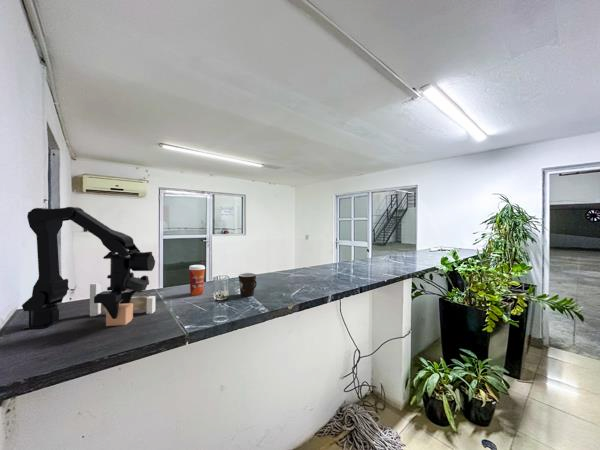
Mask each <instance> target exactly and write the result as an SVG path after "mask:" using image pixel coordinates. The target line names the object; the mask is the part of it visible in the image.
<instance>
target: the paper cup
mask: <svg viewBox="0 0 600 450" xmlns="http://www.w3.org/2000/svg"><path fill="white" fill-rule="evenodd" d="M205 270H206V266H205V265H204V264H193V265H192V264H191V265H189V268H188V272H189V291H190V292H189V293H190V296H200V295H203V293H204V284H205V283H204V281H205V280H204V279H205Z"/></svg>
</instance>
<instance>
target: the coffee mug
mask: <svg viewBox="0 0 600 450" xmlns="http://www.w3.org/2000/svg"><path fill="white" fill-rule="evenodd" d="M256 280H257V274H256V273H253V272H244V273H239V274H238V282H239V283H238V284H239V293H240V294H239V295H240V297H245V298H249V297H253V296H254V293H255V289H256V288H257V281H256Z"/></svg>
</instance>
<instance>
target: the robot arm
mask: <svg viewBox="0 0 600 450" xmlns="http://www.w3.org/2000/svg"><path fill="white" fill-rule="evenodd" d="M26 217H27V221H28V226H29V228H30V230H32V231H33V233H34V234H35V236H36V249H37V252H36V253H37V267H38V269H37V270H38V279H37V280H36V282H35V283H34V285H33V287H32V292H31V296H30V298H28V299H27V300H26V301H24V303H22V305H21V307H22V310H23V312H28V325H26V326H24V327H23V329H24V330H28V329H30V330H31V329H47V328H49V327H51V326H53V325H55V324H57V323H59V322H61V321H62V318H60V310H59V305H58V304H60V303H62V302H63V301H64V300H63V299H64V298H65V297H66V296H67V294H68V291H70V287H69V279H68V278H65V279H64V278H63V277H62V276H61V275H60V263H59V262H60V261H59V259H60V258H59V241H58V234H59V232H60V231H61V229H62V228H63V225H64V224H63V223H64V222H66V221H72V222H73V223H75V224H76V225H78V226H79V227H81V228H83V229H84V230H86V231H88V232H89V233H90V234H92V235H94V236H95V237H96V238H98V239H99V240H100V241H101V243H102V245H103V246H104V247H105V248H106V249H107V250H108V253H107V254H106V255H103V257H102V258H103V259H104V260H107V259H109V260H110V266H109V267H110V269H109V270H110V271H109V272H110V274H107V277H106V278H107V279H109V281H110V283H109V284H110V285H109V286H107V287H106V290H103V291H101V293H99V294H97V295H96V296H95V297H94V303H102V304H103V306H104V307H105V308H106V309H107V311H108V312H109V314H110V316H111V317H112V319H116V318H117V314H118V308H119V303H120V304H126V303H130V300H131V298H132V297H134V295H135V294H136V293H143V291H146V290H147V287H148V285H150V280H149V276H148V275H142V276H141V277H135V274H134V272H153V270H154V268H155V266H156V259H155V257H154V255H153V252H152V251H145V252H143V251H141V250H139V248H138V247H137V246H136V244H135V243H134V239H133V237H131V236H130V235H128V234H126V233H123V232H121V231H117V230H114V229H112V228H110V227H108V226H107V225H106V224H104V223H102V222H101V221H99V220H98V219H97V218H95V217H93V216H92V215H90V214H88V212H86V211H84V209H82V208H81V207H77V206H65V207H62V208H61V207H59V208H46V207H45V208H44V207H35V208H34V207H33V209H31V210H30V211H28V212H27V215H26ZM131 271H132V272H131Z"/></svg>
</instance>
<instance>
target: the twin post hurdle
mask: <svg viewBox="0 0 600 450" xmlns="http://www.w3.org/2000/svg"><path fill="white" fill-rule="evenodd" d="M101 292H102V282H100V281H96V282H93V283H90V284H89V317H97V316H99V315H100V314H101V313H102V312H101V303H94V297H95V296H96V295H97V294H99V293H101ZM154 312H156V295H149V296H148V298H147V310H146V315H148V314H150V315H151V314H154Z"/></svg>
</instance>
